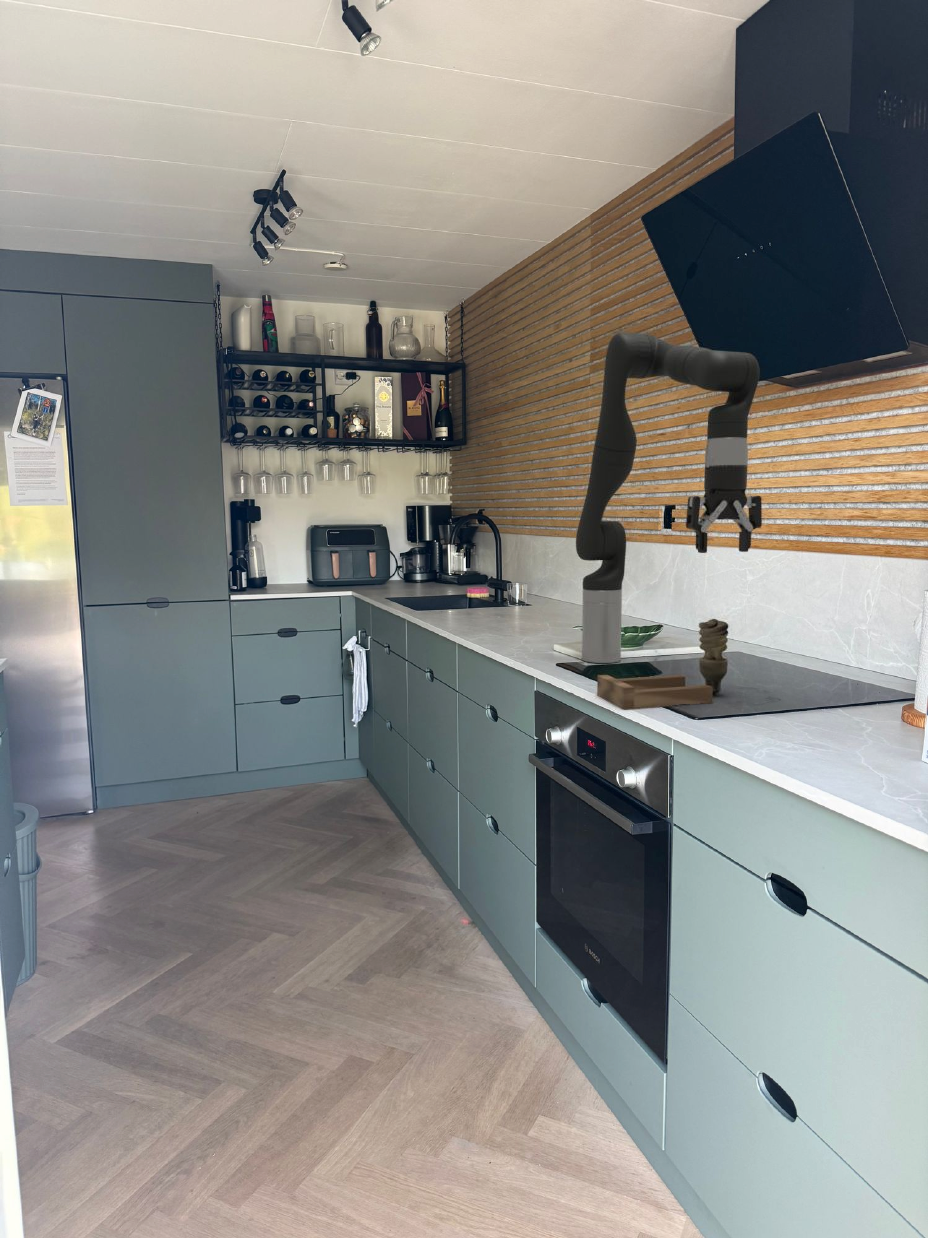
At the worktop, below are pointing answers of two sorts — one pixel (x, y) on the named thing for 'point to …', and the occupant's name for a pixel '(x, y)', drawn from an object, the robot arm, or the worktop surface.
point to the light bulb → (713, 652)
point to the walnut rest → (651, 691)
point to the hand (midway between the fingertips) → (722, 552)
